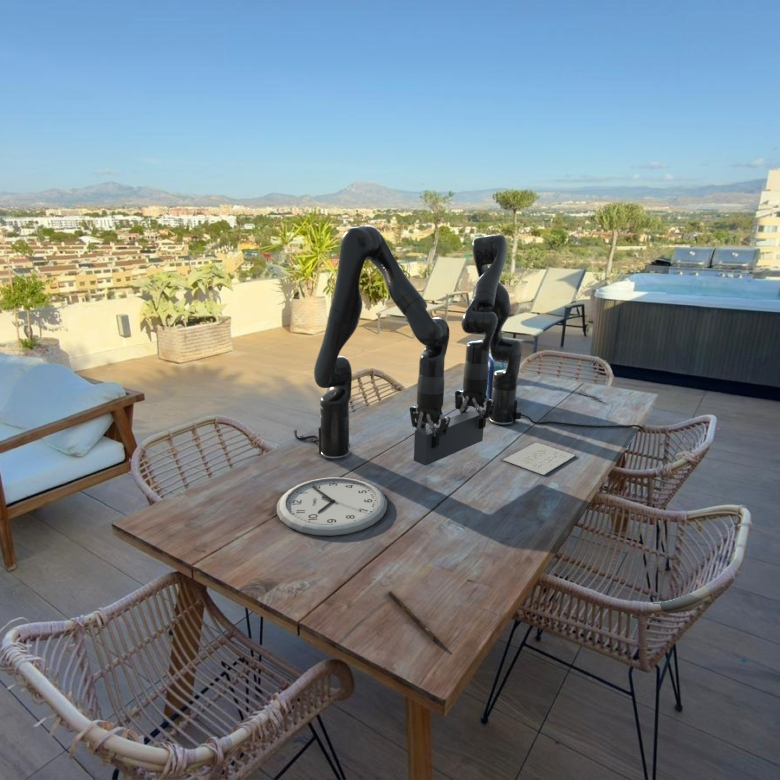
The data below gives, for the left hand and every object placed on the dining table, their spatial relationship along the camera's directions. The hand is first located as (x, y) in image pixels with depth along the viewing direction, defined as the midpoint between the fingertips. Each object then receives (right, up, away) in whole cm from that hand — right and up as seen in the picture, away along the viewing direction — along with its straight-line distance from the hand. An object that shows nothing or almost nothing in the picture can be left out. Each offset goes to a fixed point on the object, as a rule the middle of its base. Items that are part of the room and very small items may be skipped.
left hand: (427, 444), depth 153 cm
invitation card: (+39, -7, +22) cm, 45 cm away
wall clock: (-27, -16, -10) cm, 33 cm away
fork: (+80, +12, +86) cm, 118 cm away
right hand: (+15, +5, +14) cm, 21 cm away
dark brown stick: (-7, -29, -50) cm, 58 cm away
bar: (+7, -3, +9) cm, 12 cm away
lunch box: (+34, +12, +81) cm, 89 cm away
